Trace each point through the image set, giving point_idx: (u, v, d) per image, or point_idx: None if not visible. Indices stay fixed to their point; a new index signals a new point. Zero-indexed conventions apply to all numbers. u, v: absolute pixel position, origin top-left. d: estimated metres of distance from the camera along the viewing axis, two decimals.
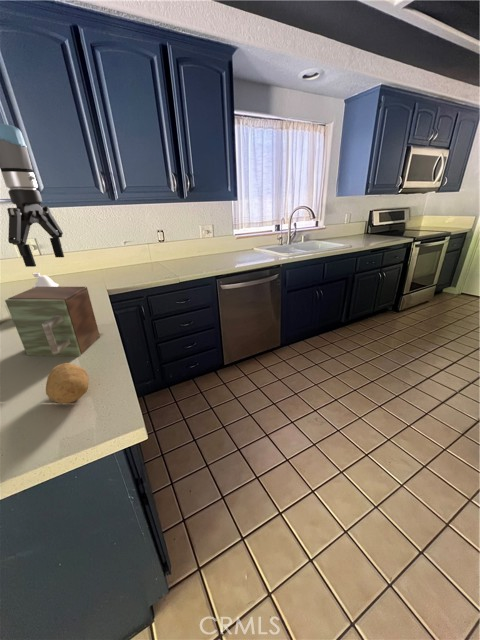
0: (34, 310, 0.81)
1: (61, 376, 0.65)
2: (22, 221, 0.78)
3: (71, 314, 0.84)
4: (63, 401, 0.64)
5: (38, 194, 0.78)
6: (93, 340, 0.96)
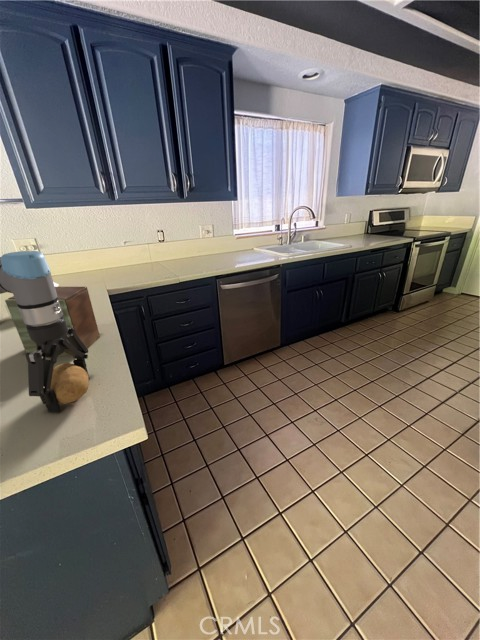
0: None
1: (61, 376, 0.65)
2: (44, 361, 0.61)
3: (71, 314, 0.84)
4: (63, 401, 0.64)
5: (63, 325, 0.62)
6: (93, 340, 0.96)
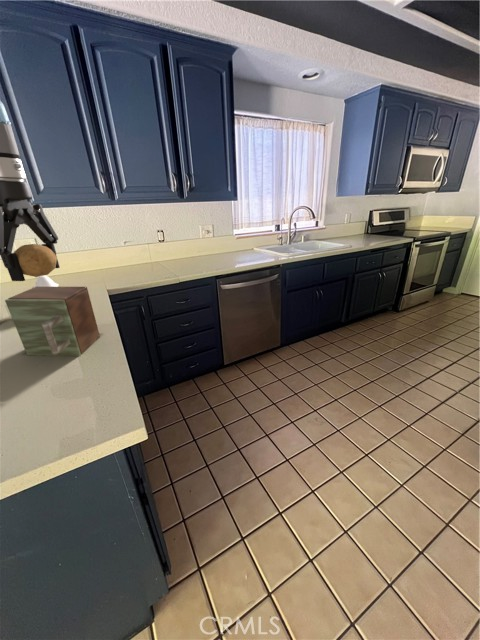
0: (34, 310, 0.81)
1: (26, 247, 0.64)
2: (6, 223, 0.60)
3: (71, 314, 0.84)
4: (27, 270, 0.63)
5: (26, 187, 0.61)
6: (93, 340, 0.96)
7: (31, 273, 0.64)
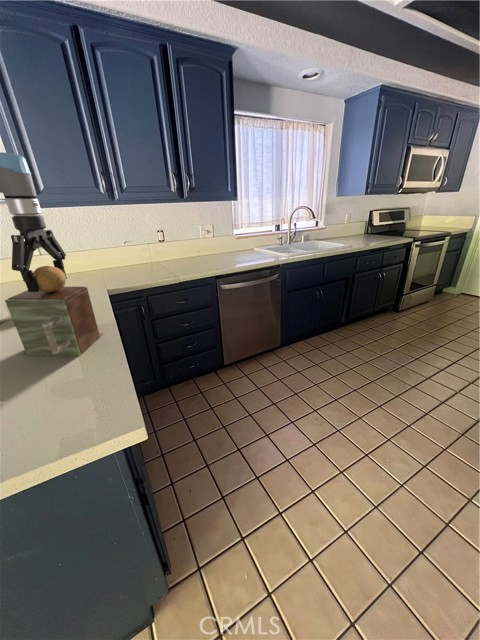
0: (34, 310, 0.81)
1: (42, 269, 0.82)
2: (25, 247, 0.77)
3: (71, 314, 0.84)
4: (44, 287, 0.81)
5: (42, 220, 0.78)
6: (93, 340, 0.96)
7: (47, 289, 0.82)
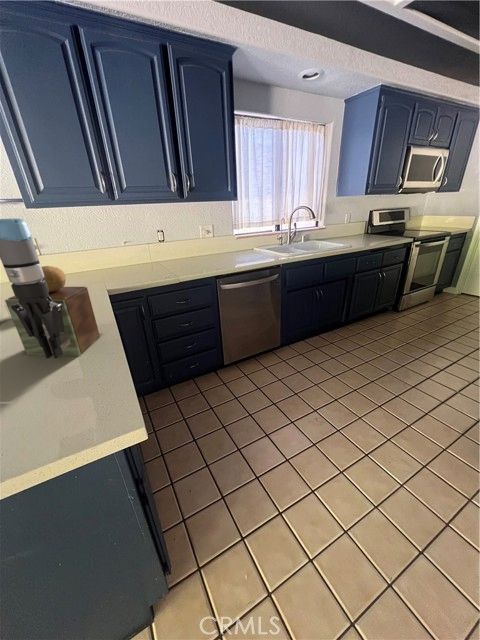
0: None
1: (42, 269, 0.82)
2: None
3: (71, 314, 0.84)
4: None
5: (20, 290, 0.67)
6: (93, 340, 0.96)
7: None
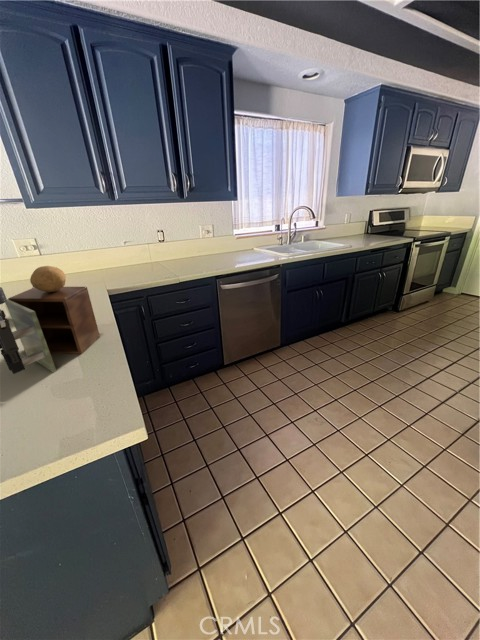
0: (19, 315, 0.78)
1: (42, 269, 0.82)
2: None
3: (71, 314, 0.84)
4: (44, 287, 0.81)
5: None
6: (93, 340, 0.96)
7: (47, 289, 0.82)
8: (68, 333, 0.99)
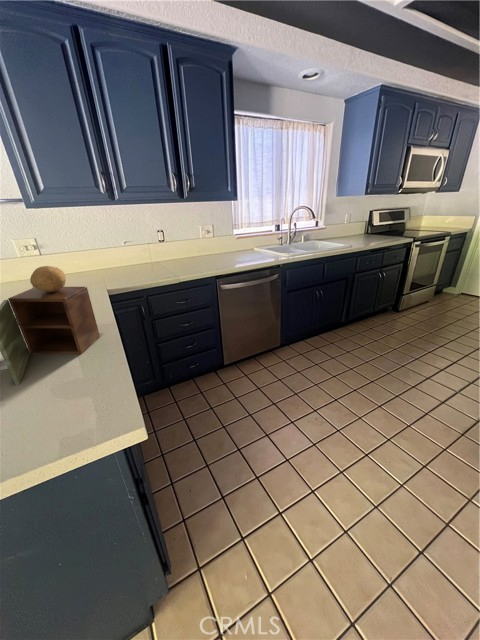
0: None
1: (42, 269, 0.82)
2: None
3: (71, 314, 0.84)
4: (44, 287, 0.81)
5: None
6: (93, 340, 0.96)
7: (47, 289, 0.82)
8: (68, 333, 0.99)
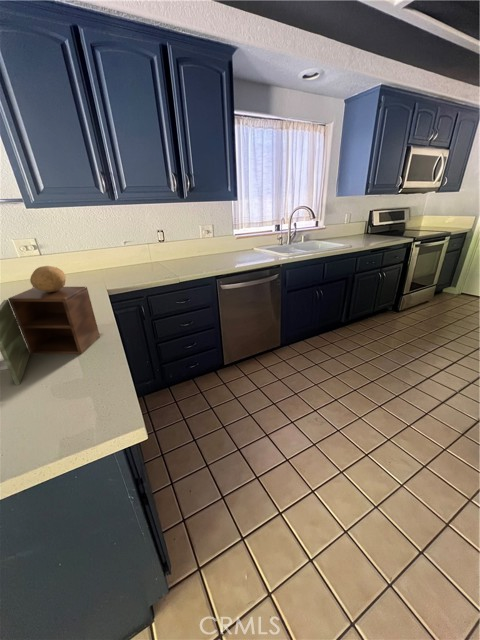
0: None
1: (42, 269, 0.82)
2: None
3: (71, 314, 0.84)
4: (44, 287, 0.81)
5: None
6: (93, 340, 0.96)
7: (47, 289, 0.82)
8: (68, 333, 0.99)
